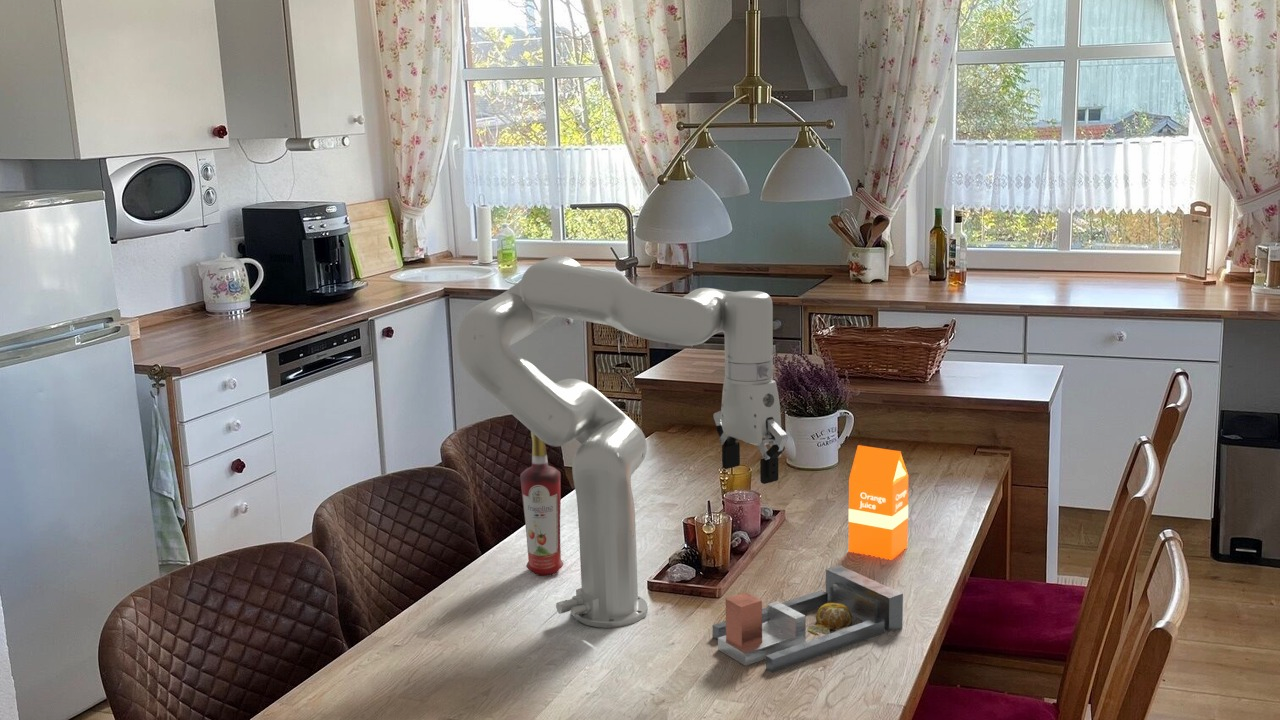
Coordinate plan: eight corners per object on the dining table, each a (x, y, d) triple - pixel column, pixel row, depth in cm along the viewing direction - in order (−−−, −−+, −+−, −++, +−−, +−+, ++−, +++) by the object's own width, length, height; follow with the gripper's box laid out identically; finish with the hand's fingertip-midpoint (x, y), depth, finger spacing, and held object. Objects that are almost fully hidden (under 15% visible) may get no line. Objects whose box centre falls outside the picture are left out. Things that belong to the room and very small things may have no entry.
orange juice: (864, 538, 240) (865, 439, 236) (907, 547, 235) (909, 446, 231) (847, 551, 234) (848, 450, 230) (891, 560, 229) (893, 457, 225)
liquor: (523, 579, 225) (515, 431, 219) (527, 564, 233) (520, 420, 227) (563, 578, 225) (556, 430, 219) (566, 563, 232) (560, 419, 226)
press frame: (772, 674, 187) (772, 637, 185) (712, 638, 199) (712, 604, 198) (902, 628, 201) (902, 593, 200) (838, 597, 213) (839, 565, 212)
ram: (745, 665, 189) (744, 611, 187) (718, 649, 195) (717, 596, 193) (805, 645, 195) (805, 591, 193) (777, 629, 201) (777, 577, 199)
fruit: (808, 639, 199) (808, 618, 198) (808, 617, 207) (808, 597, 206) (860, 640, 198) (861, 619, 197) (858, 618, 206) (858, 598, 205)
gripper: (803, 376, 189) (803, 483, 193) (733, 357, 203) (734, 457, 207) (765, 384, 185) (766, 492, 189) (696, 364, 199) (698, 466, 203)
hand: (749, 474), depth 198 cm, fingers open, 9 cm apart
